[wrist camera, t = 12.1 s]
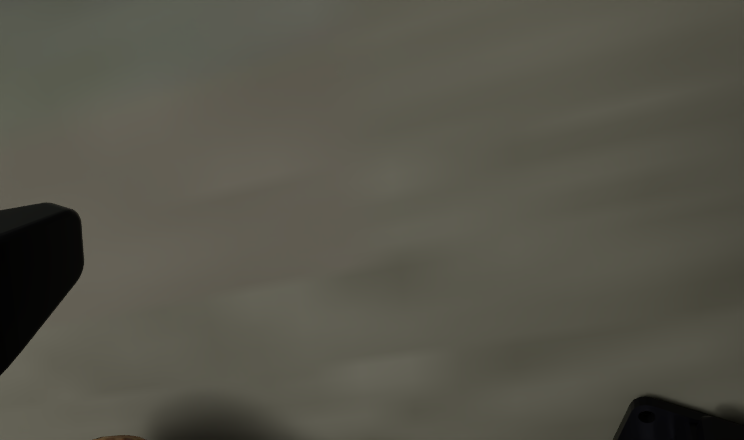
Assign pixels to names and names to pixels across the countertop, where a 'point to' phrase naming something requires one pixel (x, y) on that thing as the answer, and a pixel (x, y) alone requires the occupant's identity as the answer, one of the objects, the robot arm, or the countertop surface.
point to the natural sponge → (120, 438)
